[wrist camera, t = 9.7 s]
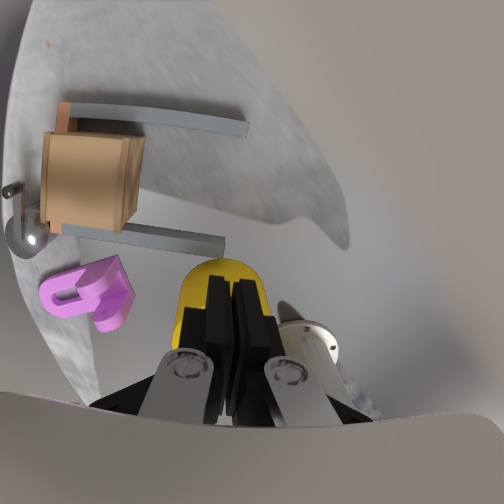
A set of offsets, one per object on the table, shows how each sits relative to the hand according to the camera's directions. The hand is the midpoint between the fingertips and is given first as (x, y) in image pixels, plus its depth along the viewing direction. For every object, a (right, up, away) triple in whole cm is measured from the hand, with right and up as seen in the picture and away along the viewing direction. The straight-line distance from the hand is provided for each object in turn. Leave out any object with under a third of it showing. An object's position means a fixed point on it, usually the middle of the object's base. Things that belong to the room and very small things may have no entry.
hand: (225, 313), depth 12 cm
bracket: (-20, -2, +25) cm, 32 cm away
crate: (-15, +11, +19) cm, 27 cm away
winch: (-23, +7, +20) cm, 31 cm away
